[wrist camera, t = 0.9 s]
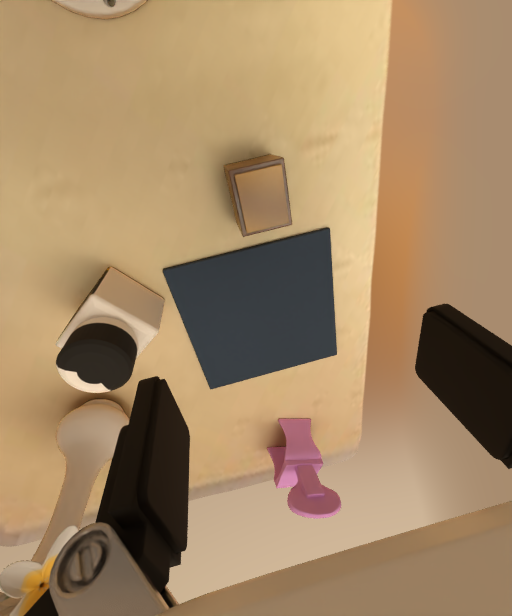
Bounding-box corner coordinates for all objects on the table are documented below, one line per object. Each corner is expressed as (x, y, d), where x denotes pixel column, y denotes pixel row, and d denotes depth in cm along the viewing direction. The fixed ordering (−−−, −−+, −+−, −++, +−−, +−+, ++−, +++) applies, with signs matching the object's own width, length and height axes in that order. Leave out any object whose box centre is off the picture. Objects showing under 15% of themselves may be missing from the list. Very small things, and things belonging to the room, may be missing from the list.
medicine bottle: (110, 264, 32) (71, 324, 22) (165, 298, 36) (154, 364, 25) (77, 308, 34) (28, 382, 24) (133, 337, 38) (110, 412, 27)
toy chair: (261, 450, 55) (281, 545, 42) (272, 418, 51) (298, 513, 38) (301, 449, 57) (332, 539, 44) (315, 418, 53) (354, 508, 40)
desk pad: (162, 268, 34) (162, 271, 33) (328, 227, 35) (330, 228, 34) (210, 386, 44) (210, 389, 44) (335, 352, 45) (337, 354, 45)
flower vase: (75, 458, 47) (-22, 723, 26) (36, 373, 38) (-166, 679, 17) (159, 447, 49) (132, 682, 28) (142, 364, 40) (83, 624, 19)
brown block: (223, 165, 29) (228, 171, 25) (271, 153, 30) (285, 157, 25) (236, 223, 32) (243, 238, 28) (279, 213, 33) (293, 226, 28)
